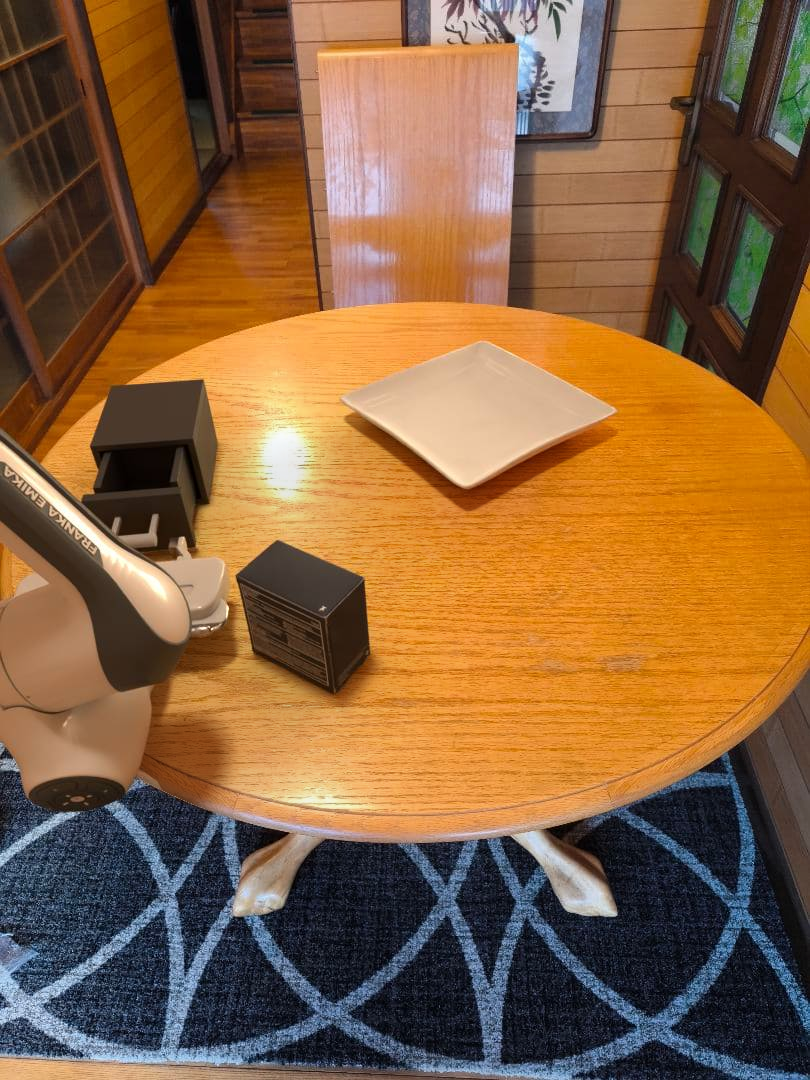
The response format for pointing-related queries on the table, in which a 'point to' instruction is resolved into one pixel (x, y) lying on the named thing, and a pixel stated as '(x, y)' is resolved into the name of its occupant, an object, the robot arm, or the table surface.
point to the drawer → (146, 496)
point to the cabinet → (160, 424)
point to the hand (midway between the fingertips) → (136, 545)
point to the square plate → (477, 411)
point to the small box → (305, 614)
